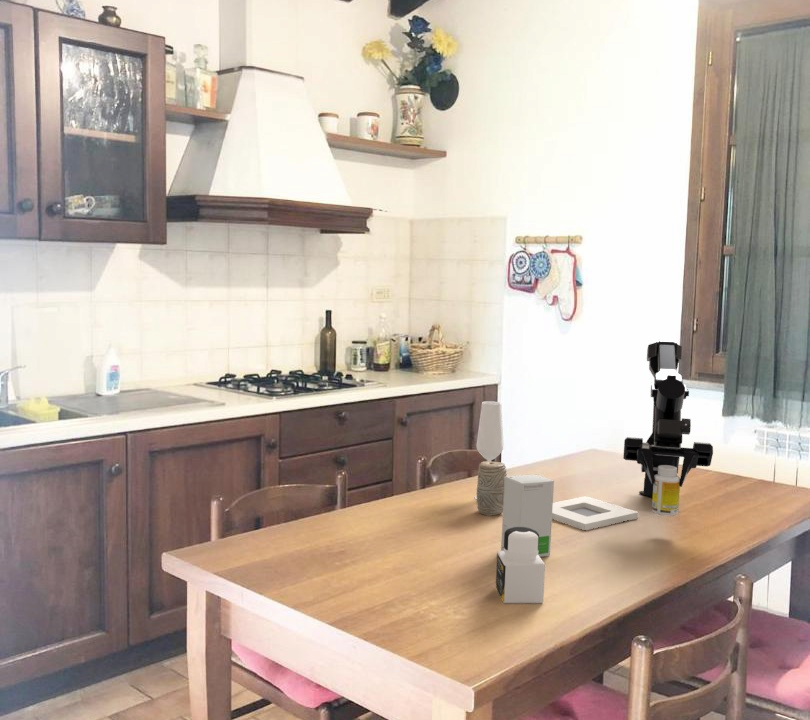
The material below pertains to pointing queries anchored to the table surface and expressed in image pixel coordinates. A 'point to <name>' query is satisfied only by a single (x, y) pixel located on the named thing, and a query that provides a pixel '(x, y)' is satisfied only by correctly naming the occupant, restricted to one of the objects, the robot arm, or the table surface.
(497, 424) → the champagne flute
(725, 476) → the table surface
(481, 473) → the carving
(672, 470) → the supplement bottle
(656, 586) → the table surface
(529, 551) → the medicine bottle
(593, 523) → the socket plate
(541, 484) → the skincare box
